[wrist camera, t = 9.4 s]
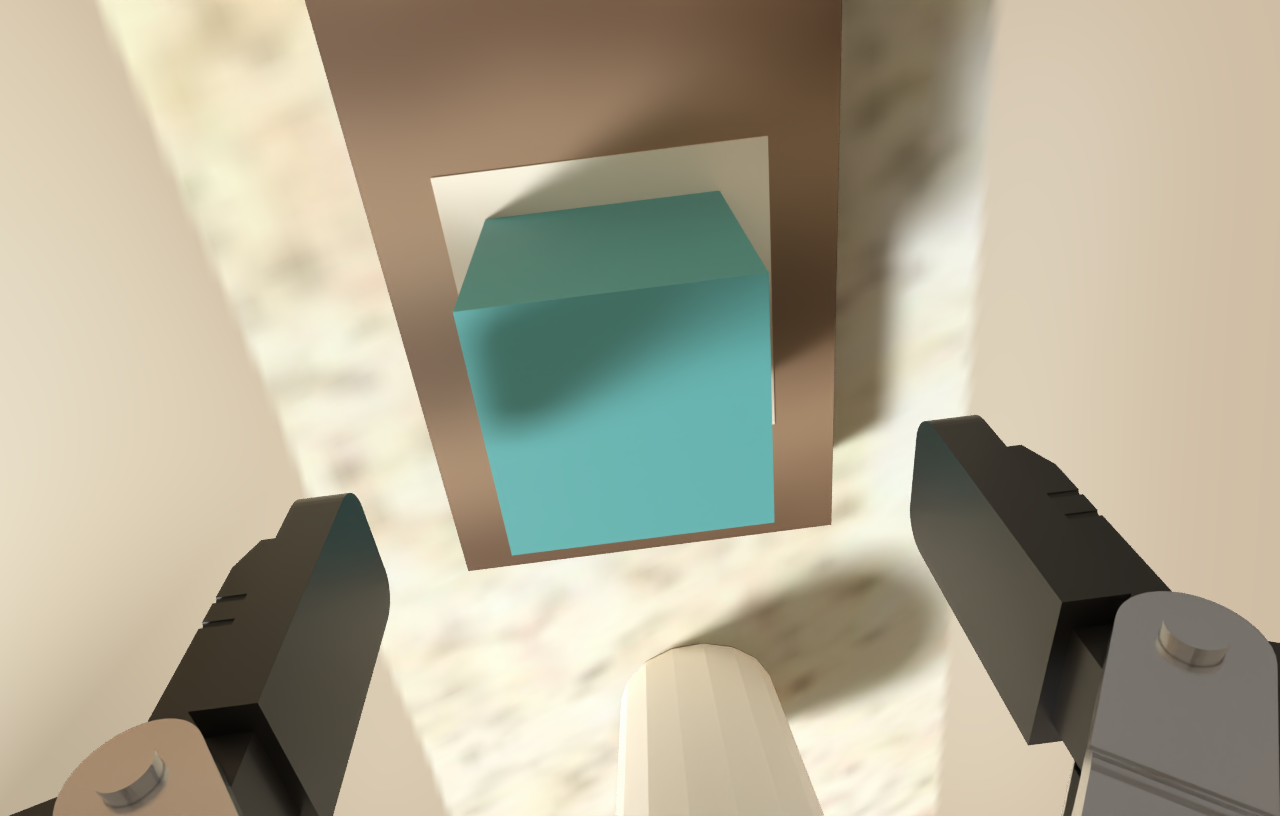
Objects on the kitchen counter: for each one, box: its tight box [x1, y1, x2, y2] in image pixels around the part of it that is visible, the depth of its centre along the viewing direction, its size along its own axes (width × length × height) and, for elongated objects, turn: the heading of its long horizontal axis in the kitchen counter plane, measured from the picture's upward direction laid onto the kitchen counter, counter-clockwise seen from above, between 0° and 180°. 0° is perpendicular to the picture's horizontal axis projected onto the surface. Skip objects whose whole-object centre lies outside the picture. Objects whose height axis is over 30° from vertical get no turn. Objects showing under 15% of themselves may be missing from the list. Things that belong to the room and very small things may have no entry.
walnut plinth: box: [305, 0, 842, 571], centre depth 19 cm, size 14×10×3 cm
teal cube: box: [453, 191, 774, 556], centre depth 16 cm, size 5×5×5 cm
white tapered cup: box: [616, 644, 824, 816], centre depth 26 cm, size 7×7×7 cm
